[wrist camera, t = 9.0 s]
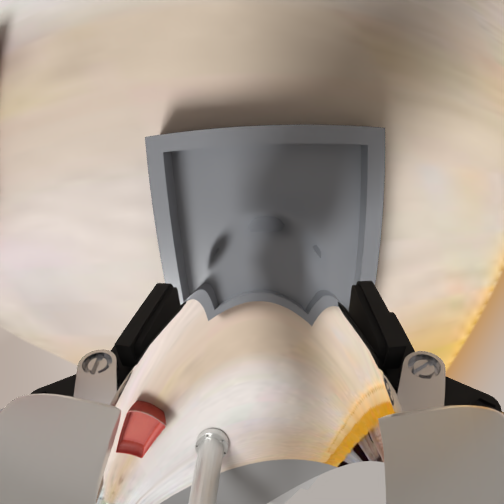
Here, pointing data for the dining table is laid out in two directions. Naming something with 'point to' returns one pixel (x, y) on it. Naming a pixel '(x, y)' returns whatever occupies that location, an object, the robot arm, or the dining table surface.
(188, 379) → the beer glass
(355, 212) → the serving tray
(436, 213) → the dining table surface
